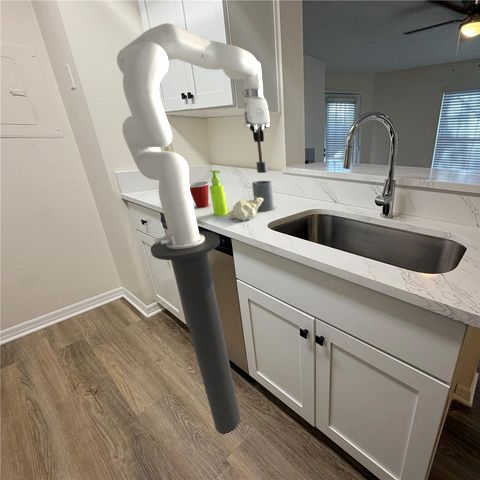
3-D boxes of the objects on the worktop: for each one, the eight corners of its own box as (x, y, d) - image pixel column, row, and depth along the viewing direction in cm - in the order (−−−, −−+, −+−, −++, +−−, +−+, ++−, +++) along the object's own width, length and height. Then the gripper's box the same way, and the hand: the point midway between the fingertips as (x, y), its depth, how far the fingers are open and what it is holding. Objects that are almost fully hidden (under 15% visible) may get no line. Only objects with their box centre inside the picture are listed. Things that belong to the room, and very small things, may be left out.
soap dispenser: (219, 216, 118) (211, 171, 110) (212, 213, 122) (204, 170, 115) (231, 213, 122) (224, 170, 114) (223, 211, 126) (217, 169, 119)
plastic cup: (187, 206, 136) (182, 183, 131) (208, 202, 142) (204, 180, 138) (194, 210, 128) (189, 186, 124) (216, 206, 135) (212, 183, 130)
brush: (260, 173, 119) (256, 128, 112) (255, 172, 122) (250, 128, 115) (268, 172, 122) (264, 128, 114) (263, 171, 125) (259, 128, 117)
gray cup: (261, 212, 124) (258, 184, 119) (251, 208, 130) (248, 182, 125) (277, 208, 129) (274, 182, 124) (266, 205, 135) (264, 180, 130)
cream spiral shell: (229, 229, 108) (254, 207, 104) (219, 215, 109) (244, 192, 105) (249, 228, 123) (271, 208, 119) (240, 216, 124) (263, 196, 120)
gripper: (241, 92, 102) (247, 142, 109) (274, 95, 112) (278, 141, 119) (232, 94, 107) (239, 142, 114) (265, 97, 117) (269, 140, 124)
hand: (259, 141), depth 117 cm, fingers closed on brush
